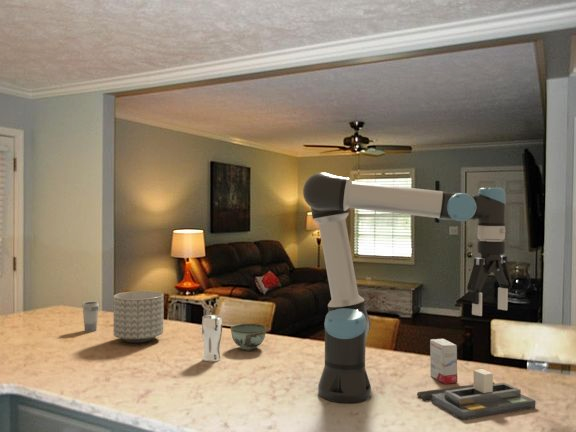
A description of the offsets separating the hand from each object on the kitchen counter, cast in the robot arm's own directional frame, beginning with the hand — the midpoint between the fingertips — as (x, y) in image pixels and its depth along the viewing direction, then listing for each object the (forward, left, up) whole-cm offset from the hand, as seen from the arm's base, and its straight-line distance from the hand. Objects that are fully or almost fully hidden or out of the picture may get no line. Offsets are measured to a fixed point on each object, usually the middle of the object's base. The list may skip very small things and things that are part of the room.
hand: (490, 312), depth 152 cm
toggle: (-10, -8, -21) cm, 24 cm away
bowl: (-55, +66, -23) cm, 88 cm away
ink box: (-7, +13, -23) cm, 27 cm away
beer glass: (-71, +57, -23) cm, 93 cm away
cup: (-111, +114, -23) cm, 160 cm away
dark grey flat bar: (-10, +1, -23) cm, 25 cm away
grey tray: (-10, -8, -23) cm, 26 cm away
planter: (-93, +91, -23) cm, 132 cm away
